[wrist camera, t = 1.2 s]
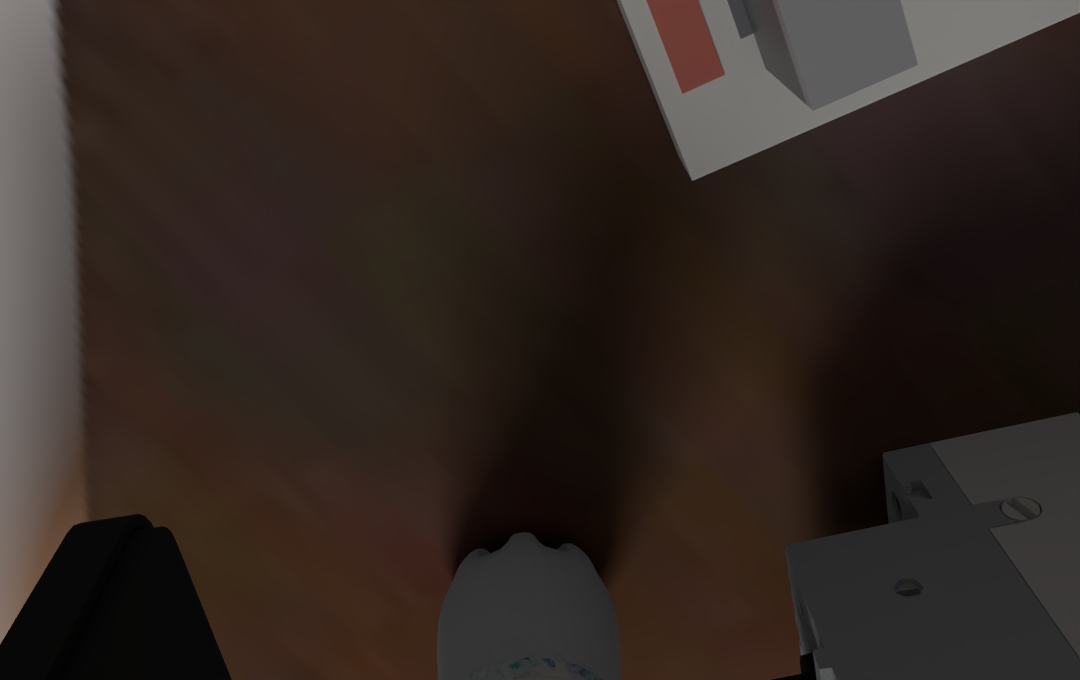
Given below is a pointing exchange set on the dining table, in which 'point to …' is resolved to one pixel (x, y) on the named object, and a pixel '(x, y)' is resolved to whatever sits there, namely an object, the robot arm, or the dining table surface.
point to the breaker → (831, 44)
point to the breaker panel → (760, 98)
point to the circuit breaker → (953, 566)
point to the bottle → (528, 617)
